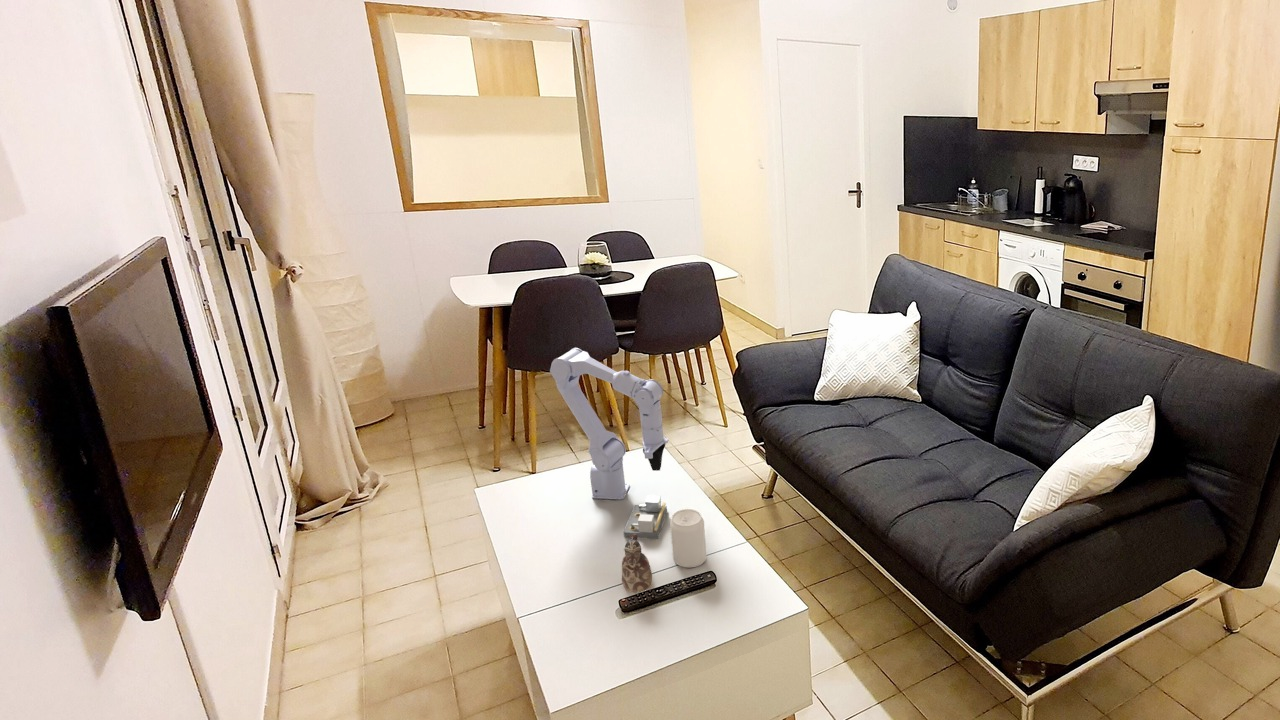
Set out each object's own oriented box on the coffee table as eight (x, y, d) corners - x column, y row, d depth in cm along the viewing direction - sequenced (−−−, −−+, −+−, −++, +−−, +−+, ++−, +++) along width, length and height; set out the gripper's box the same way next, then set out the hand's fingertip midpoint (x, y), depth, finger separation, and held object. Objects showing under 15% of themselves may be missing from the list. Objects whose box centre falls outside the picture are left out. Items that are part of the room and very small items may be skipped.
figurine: (617, 590, 162) (612, 546, 158) (628, 571, 168) (623, 529, 164) (646, 594, 159) (641, 551, 155) (656, 575, 166) (652, 533, 161)
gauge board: (624, 537, 181) (622, 521, 180) (635, 509, 193) (633, 494, 192) (657, 538, 179) (656, 522, 178) (667, 510, 191) (665, 495, 189)
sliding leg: (637, 510, 189) (636, 501, 188) (640, 504, 192) (639, 495, 191) (659, 511, 188) (658, 502, 187) (661, 505, 190) (660, 496, 189)
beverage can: (709, 551, 172) (707, 509, 168) (702, 571, 165) (698, 528, 161) (678, 547, 175) (675, 506, 171) (669, 567, 168) (665, 525, 164)
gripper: (661, 437, 180) (665, 483, 185) (671, 413, 193) (675, 456, 198) (634, 437, 182) (640, 482, 186) (646, 413, 195) (651, 456, 200)
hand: (656, 469), depth 192 cm, fingers closed
